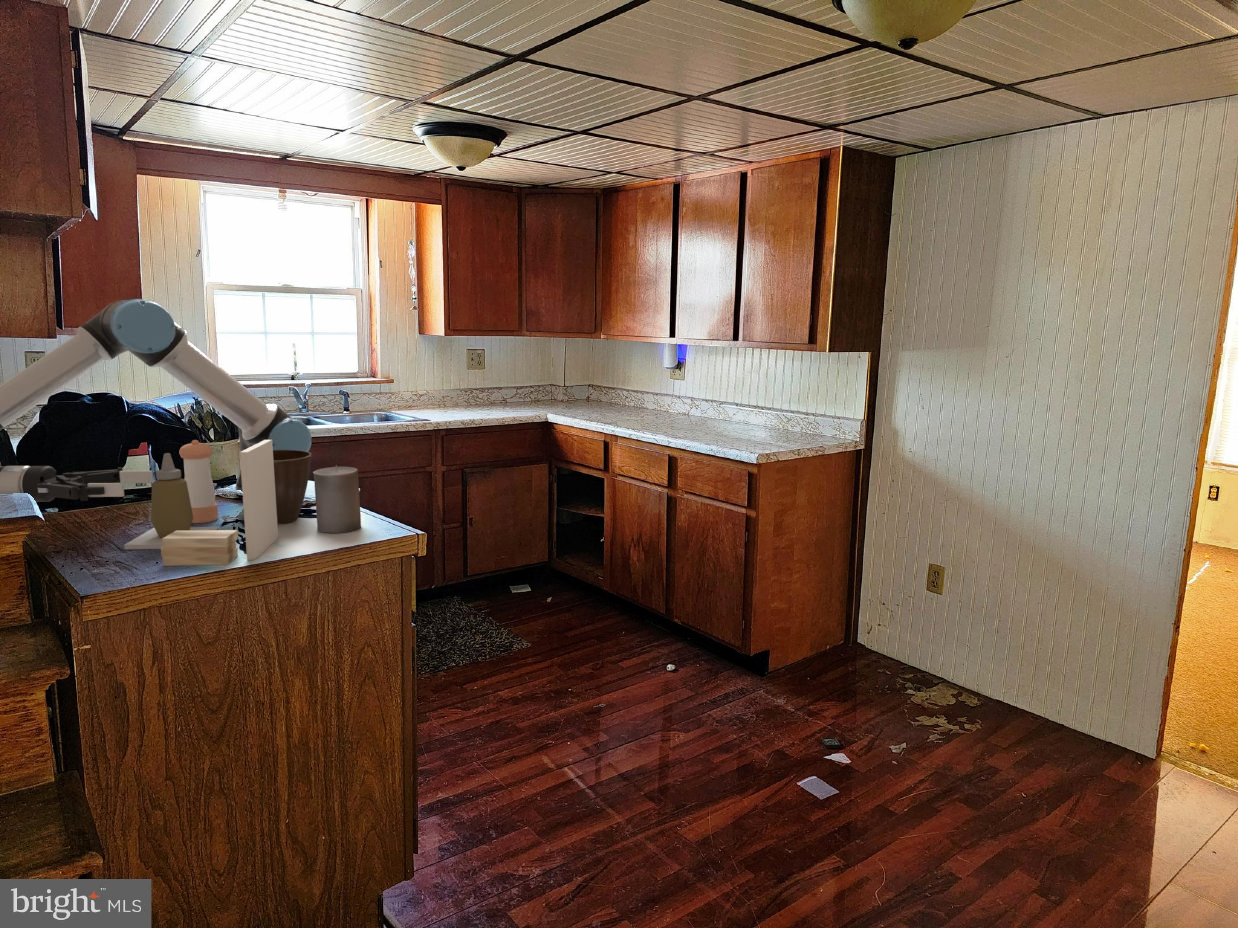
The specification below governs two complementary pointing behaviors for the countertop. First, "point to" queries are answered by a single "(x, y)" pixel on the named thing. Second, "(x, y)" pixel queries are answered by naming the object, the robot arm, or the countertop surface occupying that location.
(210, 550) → the offcut stack
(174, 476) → the squeeze bottle
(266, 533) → the panel
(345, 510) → the pillar candle
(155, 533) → the grey mat
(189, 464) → the pepper shaker
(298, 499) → the plant pot
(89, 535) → the countertop surface
